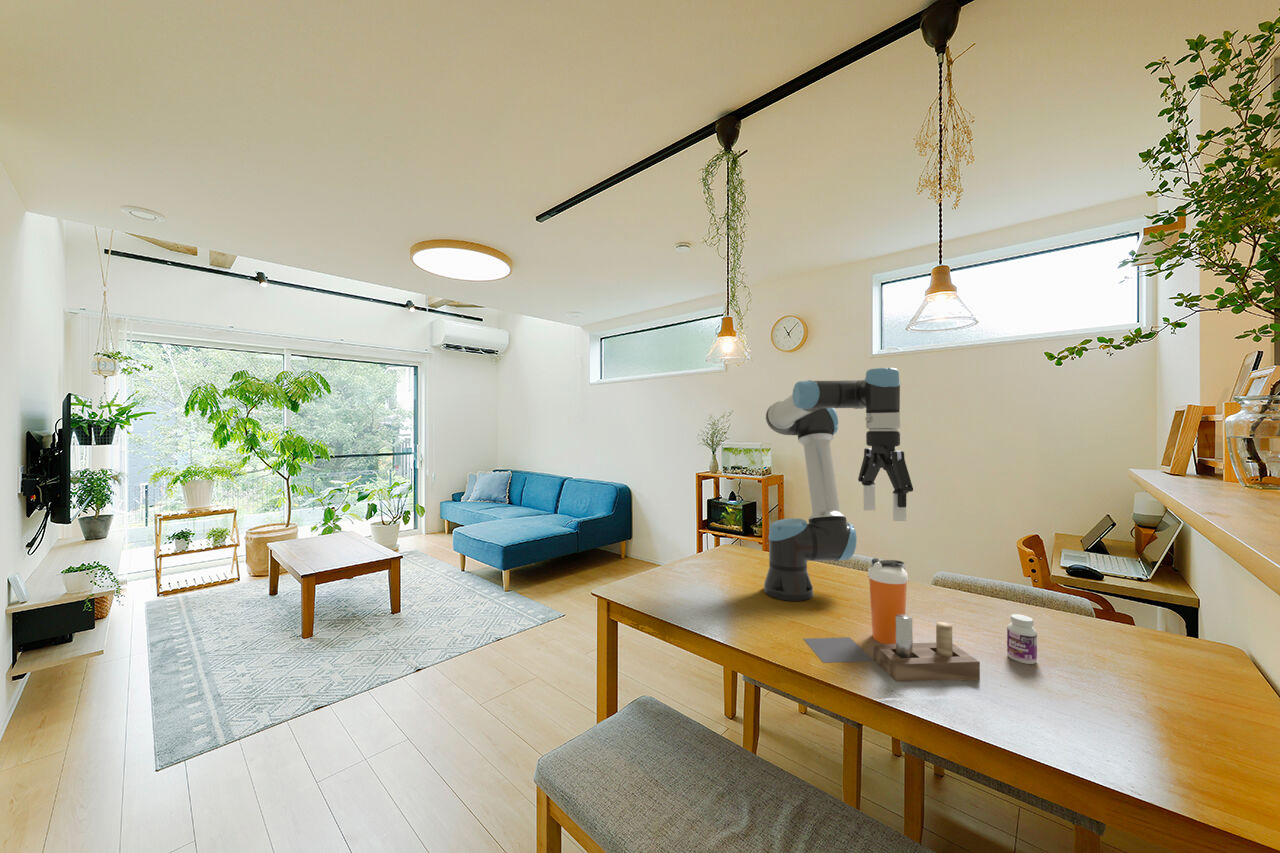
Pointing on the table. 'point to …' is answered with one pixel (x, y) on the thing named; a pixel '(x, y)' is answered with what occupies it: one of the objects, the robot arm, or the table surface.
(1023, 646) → the pill bottle
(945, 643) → the dowel
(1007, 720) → the table surface
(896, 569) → the shaker bottle
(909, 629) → the peg
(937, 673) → the hole block
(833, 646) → the mat
